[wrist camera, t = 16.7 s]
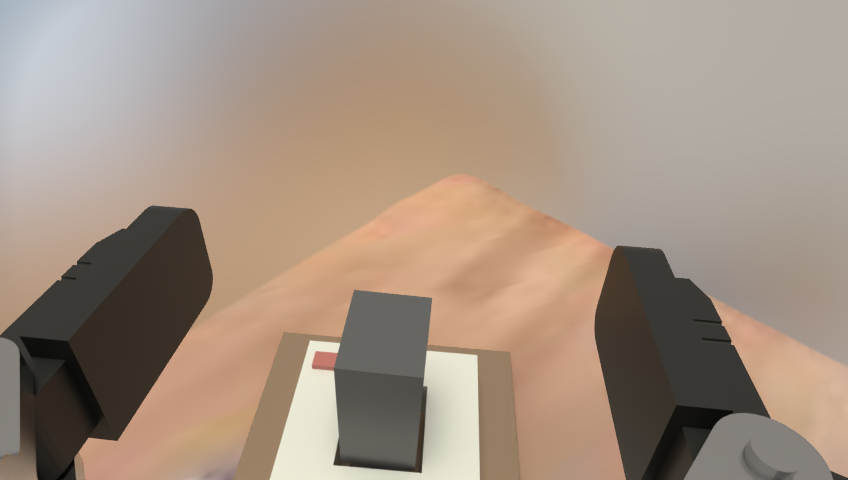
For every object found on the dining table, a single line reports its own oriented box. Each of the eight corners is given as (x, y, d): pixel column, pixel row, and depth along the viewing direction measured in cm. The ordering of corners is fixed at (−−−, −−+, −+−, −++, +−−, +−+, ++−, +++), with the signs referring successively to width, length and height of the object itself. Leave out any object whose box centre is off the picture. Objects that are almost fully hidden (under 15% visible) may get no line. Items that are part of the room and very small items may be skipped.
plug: (420, 416, 38) (432, 297, 30) (412, 492, 33) (424, 377, 26) (357, 409, 38) (354, 289, 30) (342, 484, 33) (333, 368, 26)
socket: (507, 360, 43) (517, 323, 40) (527, 626, 29) (544, 599, 26) (284, 340, 43) (278, 302, 40) (198, 596, 29) (180, 565, 27)
